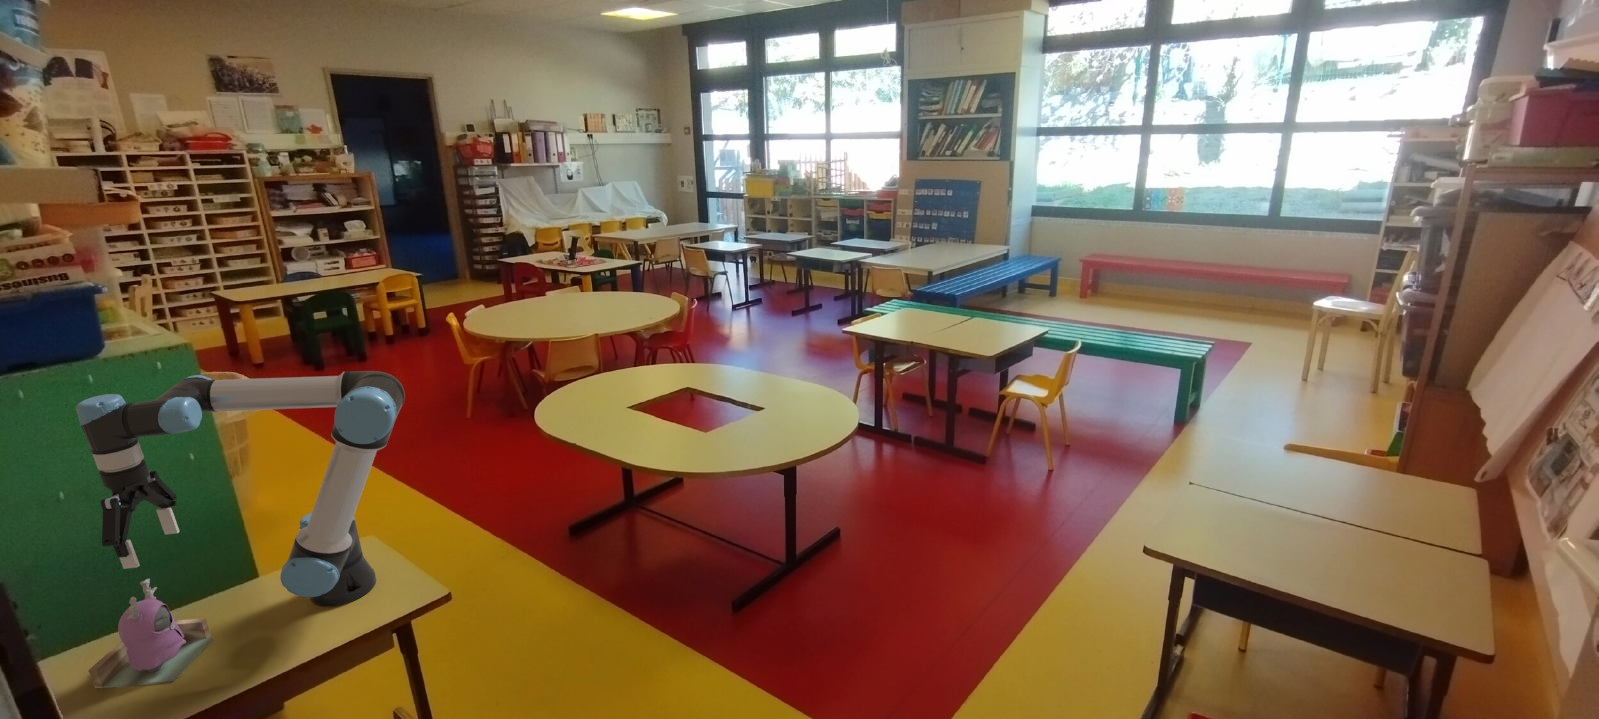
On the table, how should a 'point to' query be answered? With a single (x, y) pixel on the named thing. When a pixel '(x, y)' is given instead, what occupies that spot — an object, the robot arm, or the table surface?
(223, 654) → the table surface
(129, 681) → the tray
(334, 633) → the table surface
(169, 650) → the toy character
